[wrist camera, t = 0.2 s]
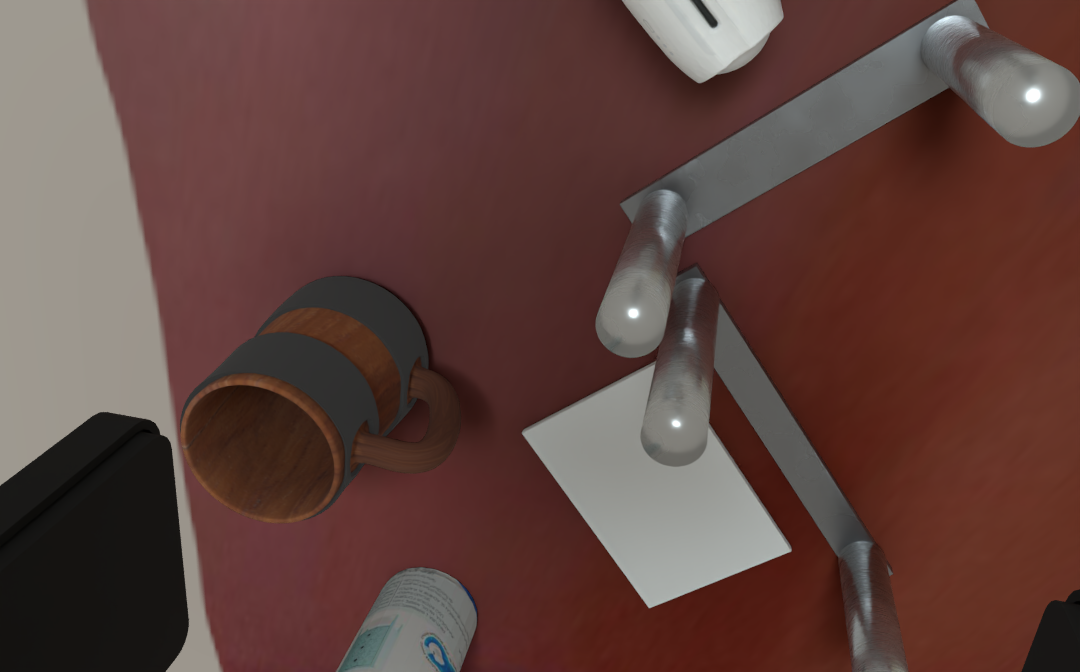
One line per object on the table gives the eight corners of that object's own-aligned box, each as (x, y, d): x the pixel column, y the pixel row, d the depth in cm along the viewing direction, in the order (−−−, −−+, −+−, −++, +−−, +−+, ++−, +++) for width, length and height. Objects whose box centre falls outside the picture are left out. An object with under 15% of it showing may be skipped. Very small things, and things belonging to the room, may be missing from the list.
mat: (523, 429, 52) (521, 433, 51) (664, 356, 48) (663, 359, 48) (649, 603, 55) (649, 608, 55) (791, 546, 51) (791, 551, 51)
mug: (486, 440, 53) (420, 572, 42) (284, 396, 54) (171, 513, 44) (503, 299, 49) (435, 405, 39) (285, 256, 51) (162, 346, 40)
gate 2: (658, 283, 47) (623, 419, 34) (700, 260, 46) (680, 391, 34) (853, 581, 52) (884, 797, 39) (895, 565, 51) (941, 781, 38)
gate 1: (621, 200, 46) (570, 311, 33) (967, -9, 39) (1067, 31, 27) (654, 251, 46) (617, 379, 34) (1000, 54, 40) (1112, 122, 27)
